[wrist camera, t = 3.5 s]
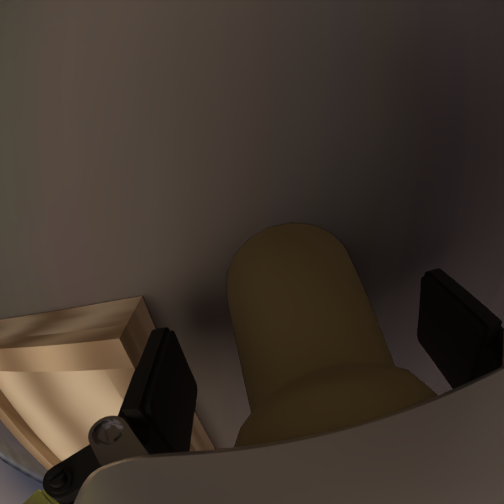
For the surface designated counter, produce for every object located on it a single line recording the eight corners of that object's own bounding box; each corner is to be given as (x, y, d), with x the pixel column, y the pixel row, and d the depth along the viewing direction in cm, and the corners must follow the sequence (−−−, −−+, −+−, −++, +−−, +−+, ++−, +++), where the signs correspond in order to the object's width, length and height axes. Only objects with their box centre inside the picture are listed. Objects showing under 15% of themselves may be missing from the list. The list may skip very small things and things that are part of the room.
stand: (142, 295, 14) (119, 338, 11) (219, 456, 19) (217, 494, 16) (-21, 322, 15) (-48, 349, 12) (70, 451, 20) (59, 480, 17)
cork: (278, 358, 16) (310, 562, 6) (198, 279, 14) (142, 525, 4) (375, 290, 15) (498, 474, 4) (306, 194, 13) (480, 382, 3)
